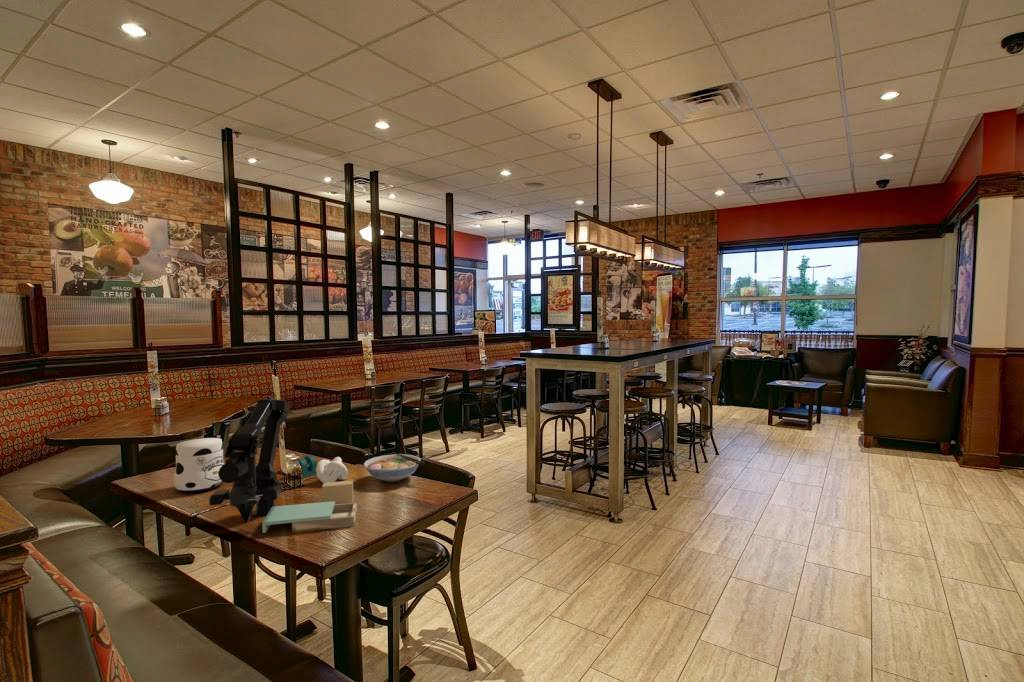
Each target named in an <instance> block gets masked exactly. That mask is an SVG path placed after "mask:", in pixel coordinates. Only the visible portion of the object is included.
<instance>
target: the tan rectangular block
mask: <svg viewBox="0 0 1024 682" xmlns="http://www.w3.org/2000/svg"><path fill="white" fill-rule="evenodd" d="M321 488H322V489H321V492H322V493H321V494H322V502H331V501H335V504H345V503H354V480H345V481H344V480H340V481H335V482H328V483H323V484H322V485H321Z"/></svg>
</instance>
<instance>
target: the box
mask: <svg viewBox="0 0 1024 682" xmlns="http://www.w3.org/2000/svg"><path fill="white" fill-rule="evenodd" d="M357 513H358V502H353V503H345V504H335V506H334V509H333V512H332V515H331V519H325V520H314V521H304V522H294V523H291V531H292V532H291V533H298V532H309V531H310V532H311V531H317V530H326V529H327V530H328V529H329V530H330V529H338V528H350V527H355V523H356V517H357Z"/></svg>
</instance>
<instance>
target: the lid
mask: <svg viewBox="0 0 1024 682" xmlns="http://www.w3.org/2000/svg"><path fill="white" fill-rule="evenodd" d="M334 506H335V501H331V502H323V501H321V502H311V503H310V502H309V503H301V504H300V503H299V504H289V505H275V507H272V508H271V510H270V511H269V513H268V514H267V515H265V517H264V518H263V520H262V523H261V527H262V530H261V531H262V534H263V533H265V534H266V533H267V531H268V530H269V529H270V527H271V525H283V524H290V523H291V524H292V523H294V522H304V521H314V520H325V519H331V515H332V512H333V509H334Z"/></svg>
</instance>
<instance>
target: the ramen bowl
mask: <svg viewBox="0 0 1024 682" xmlns="http://www.w3.org/2000/svg"><path fill="white" fill-rule="evenodd" d="M392 453H393V454H387V455H386V454H385V455H380V456H376V457H372V458H369V459H367V460H365V461H364V463H363V465H364V468H365V470H366V471H367V472H368V473H369V474H370V475H371V476H372V477H373V478H374V479H377V480H380V481H384V482H387V483H395V482H399V481H402V480H403V479H406V478H407V477H410V476H411V475H412V474H415V472H416V471H417V469H418V467H419V466H421V465H425V464H426V462H425V461H422V459H421V458H420V457H419V456H416V455H413V454H403V453H399V452H395V451H394V452H392Z"/></svg>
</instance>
